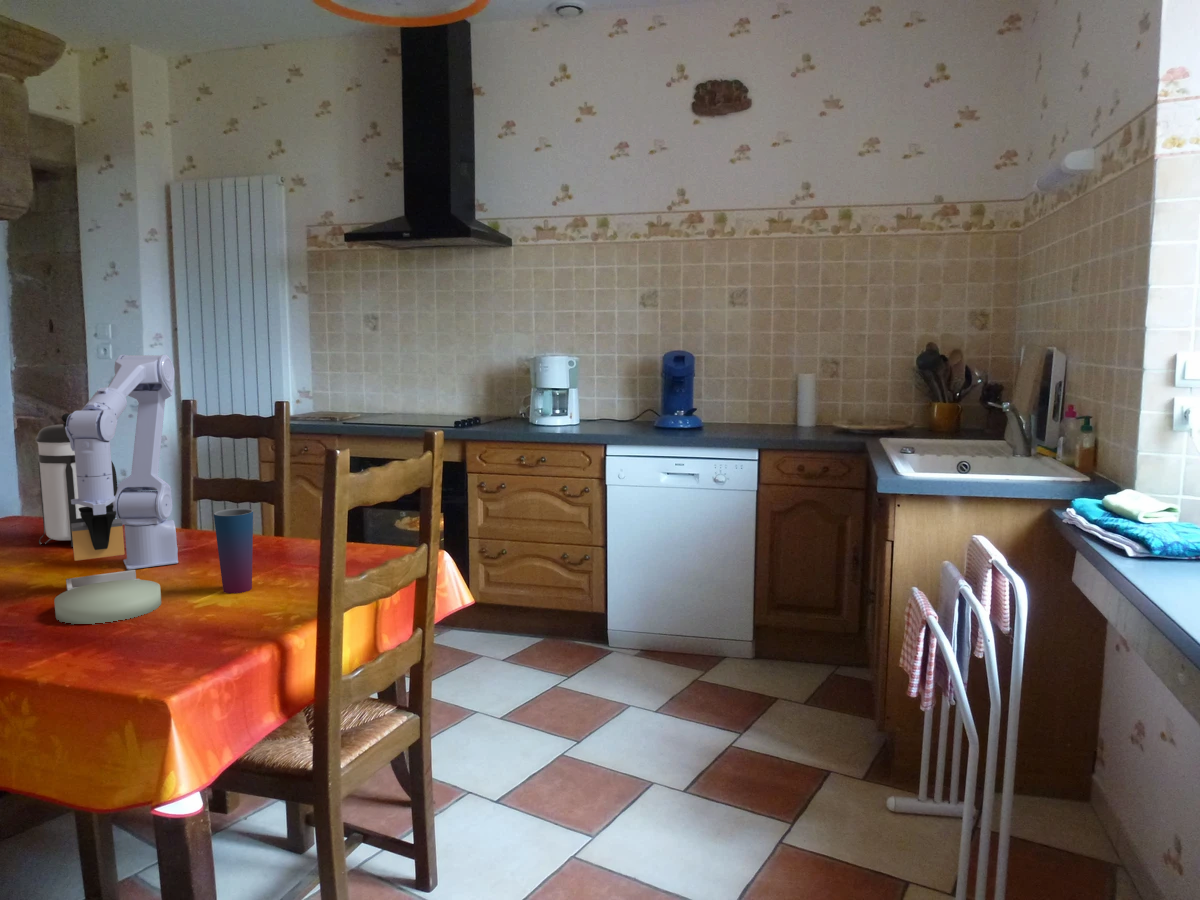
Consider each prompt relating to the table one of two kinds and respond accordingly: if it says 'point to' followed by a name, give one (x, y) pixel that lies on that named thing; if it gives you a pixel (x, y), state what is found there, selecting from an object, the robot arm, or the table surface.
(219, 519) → the cup
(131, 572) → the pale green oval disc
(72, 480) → the coffee press
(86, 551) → the rectangular flat-faced block
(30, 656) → the table surface
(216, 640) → the table surface
